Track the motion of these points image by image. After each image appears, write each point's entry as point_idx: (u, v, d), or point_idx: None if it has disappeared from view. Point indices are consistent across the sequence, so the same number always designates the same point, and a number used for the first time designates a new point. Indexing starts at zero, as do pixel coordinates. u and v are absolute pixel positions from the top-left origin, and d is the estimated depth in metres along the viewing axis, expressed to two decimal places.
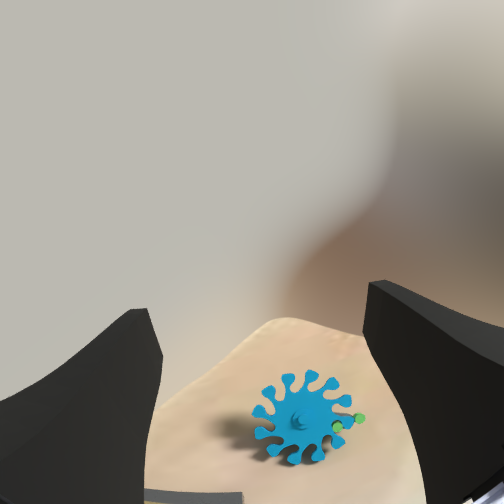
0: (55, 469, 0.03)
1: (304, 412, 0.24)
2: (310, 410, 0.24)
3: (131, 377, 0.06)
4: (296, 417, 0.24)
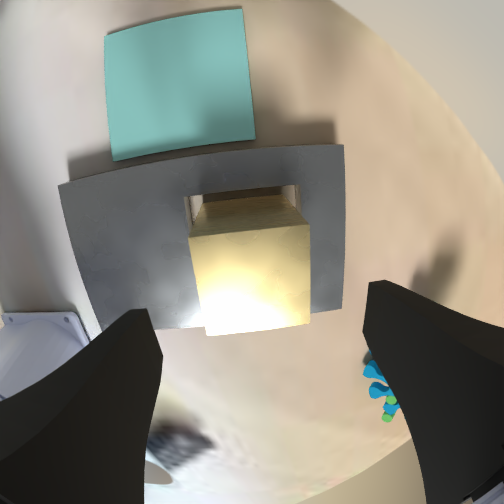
0: (55, 469, 0.03)
1: None
2: None
3: (131, 377, 0.07)
4: None
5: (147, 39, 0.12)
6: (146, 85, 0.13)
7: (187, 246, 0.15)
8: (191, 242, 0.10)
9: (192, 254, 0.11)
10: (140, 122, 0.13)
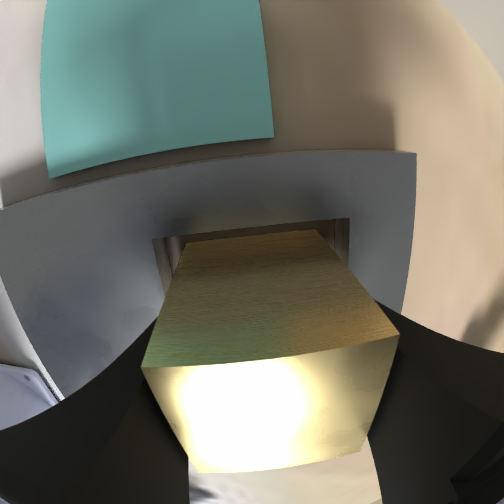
0: (120, 486, 0.03)
1: None
2: None
3: None
4: None
5: None
6: (95, 55, 0.07)
7: None
8: (149, 374, 0.04)
9: (155, 392, 0.05)
10: (85, 114, 0.07)
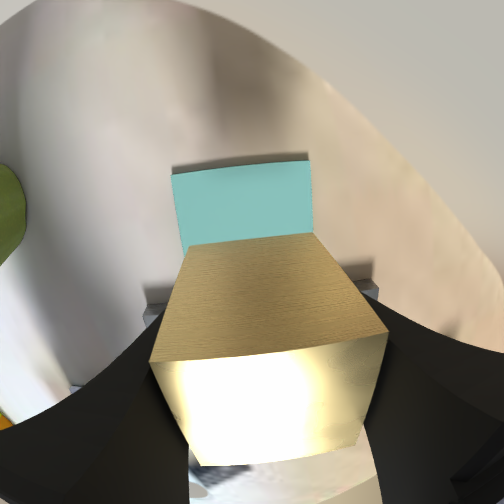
0: (120, 486, 0.03)
1: None
2: None
3: None
4: None
5: (219, 188, 0.16)
6: (221, 236, 0.17)
7: None
8: (157, 369, 0.05)
9: (162, 386, 0.05)
10: None
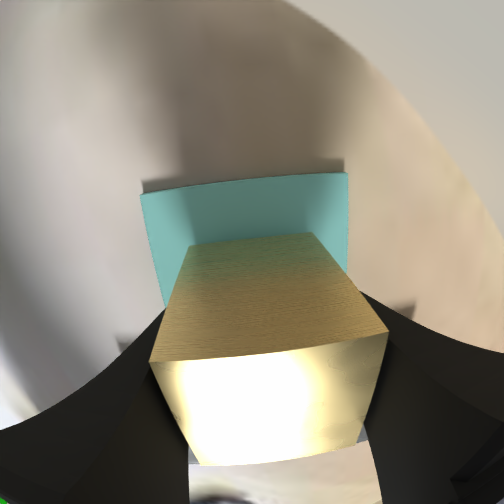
0: (120, 486, 0.03)
1: None
2: None
3: None
4: None
5: (213, 214, 0.11)
6: None
7: None
8: (157, 368, 0.05)
9: (162, 385, 0.05)
10: None
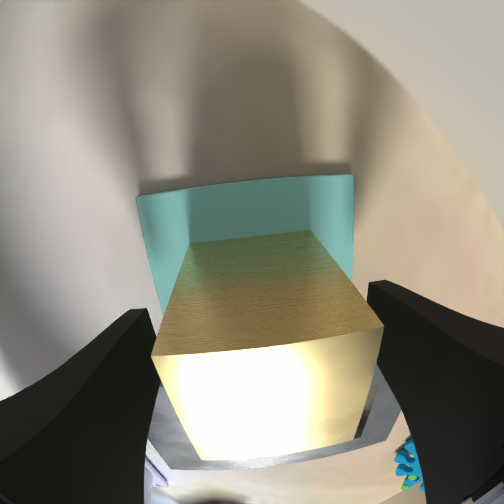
0: (55, 469, 0.03)
1: None
2: None
3: (131, 377, 0.06)
4: None
5: (212, 218, 0.10)
6: None
7: None
8: (158, 362, 0.05)
9: (163, 379, 0.05)
10: None
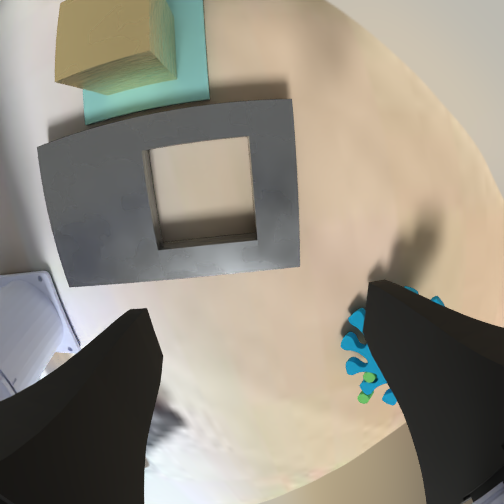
0: (55, 469, 0.03)
1: None
2: None
3: (130, 376, 0.06)
4: None
5: None
6: None
7: (144, 197, 0.15)
8: (61, 5, 0.07)
9: (60, 12, 0.07)
10: None
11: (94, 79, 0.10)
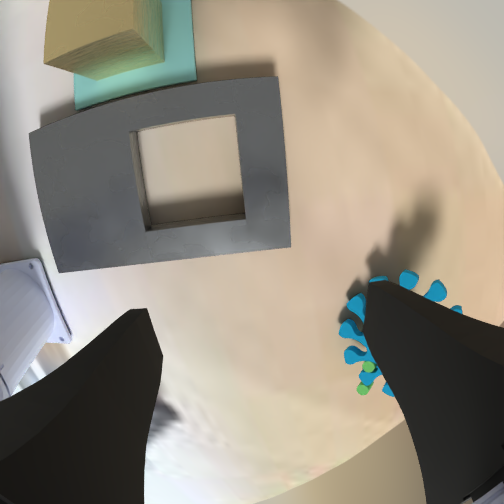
0: (55, 469, 0.03)
1: None
2: None
3: (131, 377, 0.07)
4: None
5: None
6: None
7: (131, 178, 0.15)
8: None
9: (50, 0, 0.06)
10: None
11: (82, 61, 0.09)
